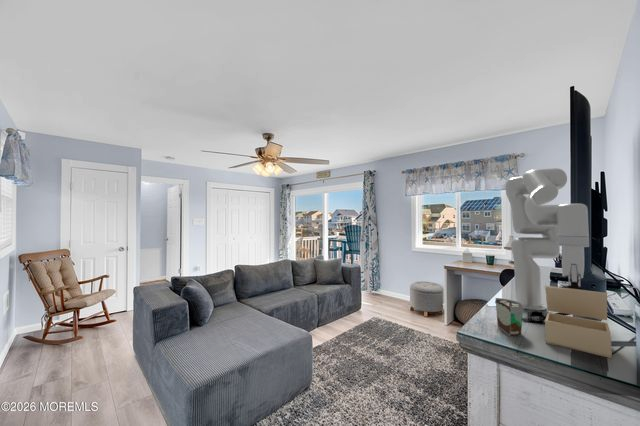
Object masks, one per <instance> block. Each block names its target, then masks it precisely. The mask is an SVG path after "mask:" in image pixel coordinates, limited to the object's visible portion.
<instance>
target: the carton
mask: <svg viewBox="0 0 640 426" xmlns="http://www.w3.org/2000/svg"><path fill="white" fill-rule="evenodd" d="M544 320H545V324H544V326H545V327H544V328H545V344H548V345H552V346H557V347H561V348H565V349H568V350H569V349H570V350H574V351H578V352H583V353H587V354H590V355H595V356H600V357H604V358H608V359H613V354H612V353H613V352H612V337H611V331H610V326H609V324H608V321H600V320H594V319H588V318H583V317H577V316H571V315H565V314H564V315H563V314H558V313H555V312H547V314H546V316H545V318H544Z"/></svg>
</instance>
